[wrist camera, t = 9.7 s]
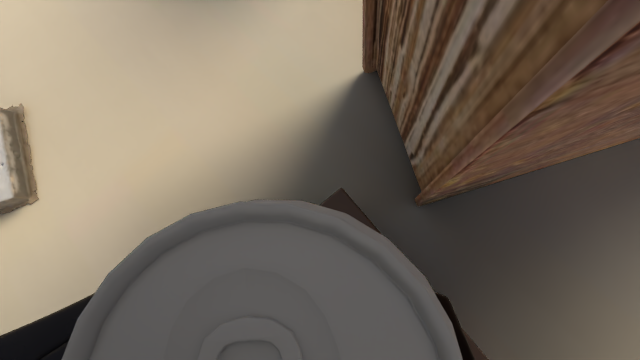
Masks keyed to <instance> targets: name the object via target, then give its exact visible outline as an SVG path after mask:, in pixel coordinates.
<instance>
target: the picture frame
mask: <svg viewBox="0 0 640 360" xmlns="http://www.w3.org/2000/svg"><path fill="white" fill-rule="evenodd" d="M23 109H24V107H23V105H22V104H19V107H13V106H11V107H9V108H8V109H3V108H0V214H1V213H7V212H10V211H13V209H14V208H18V207H19V206H24V205H26V204H27V203H29V204H32V203H33V202H34V201H36V200H38V199H39V198H38V197H37V196H36V194H37V193H36V192H33V191H35V190H37V189H36V182H35V179H34V176H33V173H32V170H33V167H32V166H31V165H30V164H31V156H30V145H27V133H26V125H25V123H22V121H23V120H24V116H23V112H24V110H23Z"/></svg>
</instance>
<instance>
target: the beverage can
mask: <svg viewBox="0 0 640 360" xmlns="http://www.w3.org/2000/svg"><path fill="white" fill-rule="evenodd" d="M62 360H463V359H462V355H461V352H460V348H459V345H458V342H457V338H456V335H455V331H454V328H453V325H452V322H451V321H450V319H449V317H448V316H447V314H446V312H445V310H444V309H443V307H442V305H441V303H440V302H439V300H438V298H437V297H436V295H435V293H434V291H433V290H432V288H431V286H430V284H429V283H428V281H427V279H426V278H425V276H424V275H423V274H422V273H421V272H420V271H419V270H418V269H417V268H416V267H415V266H414V265H413V264H412V263H411V262H410V261H409V260H408V259H407V258H406V257H405V255H404V254H403V253H402V252H401V251H400V250H399V249H398V248H397V247H396V246H395V245H394V244H393V243H392V242H391V241H390V240H389V239H388V238H386V237H384V236H383V235H381V234H379V233H378V232H376V231H374V230H373V229H371V228H370V227H368V226H366V225H365V224H363V223H361V222H360V221H358V220H356V219H355V218H353V217H351V216H350V215H348V214H346V213H343V212H340V211H336V210H333V209H329V208H326V207H322V206H319V205H316V204H312V203H309V202H305V201H302V200H258V199H255V200H251V201H248V202H236V203H232V204H228V205H224V206H220V207H216V208H212V209H208V210H204V211H201V212H197V213H193V214H190V215H188V216H186V217H184V218H183V219H181V220H179V221H177V222H175V223H173V224H172V225H170V226H168V227H166V228H164V229H162V230H161V231H159V232H157V233H155V234H153V235H151V236H150V237H148V238H146V239H145V240H144V241H143V242H142V243H141V244H140V245H139V246H138V247H137V248H136V249H134V250H133V251H132V252H131V253H130V254H129V255H128V256H127V257H126V258H125V259H124V260H123V261H122V262H120V263H119V264H118V265H117V266H116V267H115V268H114V269H113V270H112V271H111V272H110V273H109V274H108V275H107V276H106V278H105V279H104V281H103V282H102V284H101V285H100V287H99V288H98V290H97V291H96V293H95V294H94V295H93V297H92V298H91V300H90V301H89V303H88V304H87V306H86V307H85V309H84V310H83V312H82V313H81V315H80V316H79V318H78V319H77V322H76V324H75V327H74V329H73V332H72V334H71V337H70V340H69V342H68V345H67V347H66V350H65V352H64V355H63V357H62Z"/></svg>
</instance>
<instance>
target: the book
mask: <svg viewBox="0 0 640 360" xmlns="http://www.w3.org/2000/svg"><path fill="white" fill-rule="evenodd" d="M363 69H364V72H365V73H371V72H374V71H377V72H378V74H379V77H380V80H381V83H382V85H383V88H384V91H385V93H386V96H387V99H388V102H389V104H390V107H391V110H392V112H393V115H394V118H395V121H396V123H397V126H398V129H399V132H400V134H401V137H402V140H403V142H404V145H405V148H406V151H407V153H408V156H409V159H410V162H411V164H412V167H413V170H414V172H415V175H416V178H417V181H418V183H419V186H420V189H421V193H420V194H419V195H418V196H417V197H416V198H415V202H416V204H417V206H422V205H426V204H429V203H432V202H436V201H439V200H442V199H445V198H448V197H452V196H455V195H458V194H461V193H464V192H468V191H471V190H474V189H477V188H481V187H484V186H487V185H490V184H493V183H497V182H500V181H503V180H506V179H509V178H513V177H516V176H519V175H522V174H526V173H529V172H532V171H535V170H538V169H542V168H545V167H548V166H551V165H554V164H558V163H561V162H564V161H567V160H571V159H574V158H577V157H580V156H583V155H587V154H590V153H593V152H596V151H599V150H603V149H606V148H609V147H612V146H616V145H619V144H622V143H625V142H628V141H632V140H635V139H638V138H640V0H363Z"/></svg>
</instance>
